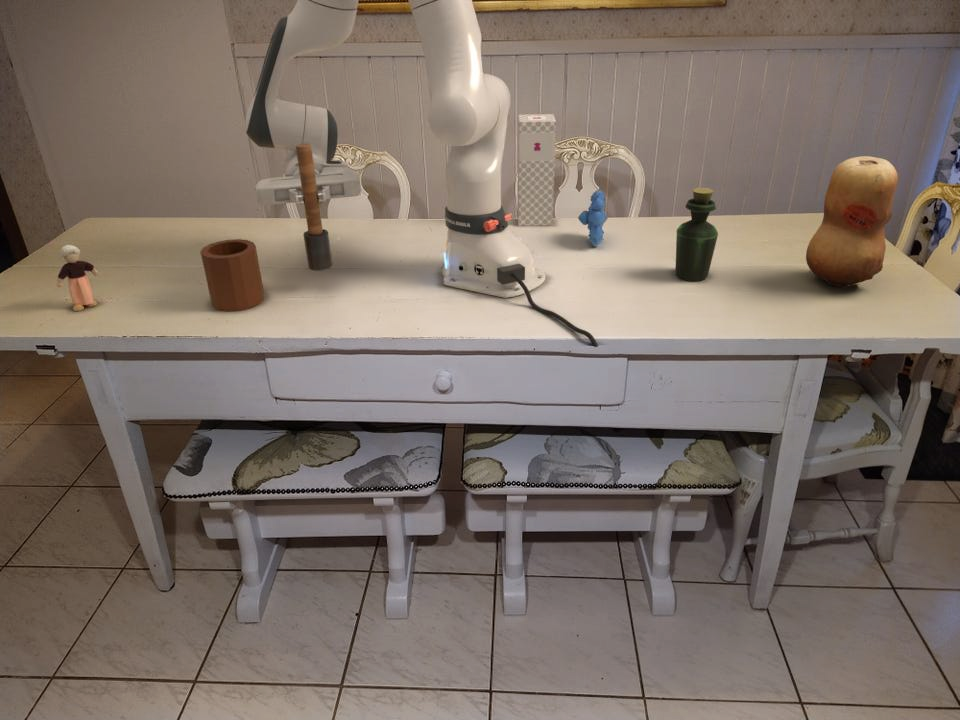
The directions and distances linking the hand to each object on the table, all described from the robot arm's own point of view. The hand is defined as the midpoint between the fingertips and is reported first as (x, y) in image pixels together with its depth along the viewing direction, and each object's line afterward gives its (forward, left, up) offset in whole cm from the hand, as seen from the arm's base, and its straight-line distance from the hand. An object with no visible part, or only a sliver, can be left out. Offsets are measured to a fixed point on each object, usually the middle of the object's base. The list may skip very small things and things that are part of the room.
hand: (311, 199), depth 139 cm
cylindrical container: (+10, +13, -19) cm, 25 cm away
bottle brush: (+1, -1, -14) cm, 14 cm away
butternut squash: (-80, -67, -19) cm, 106 cm away
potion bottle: (-55, -53, -19) cm, 79 cm away
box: (-8, -62, -19) cm, 65 cm away
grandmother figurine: (+32, +33, -19) cm, 50 cm away
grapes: (-28, -57, -19) cm, 66 cm away
